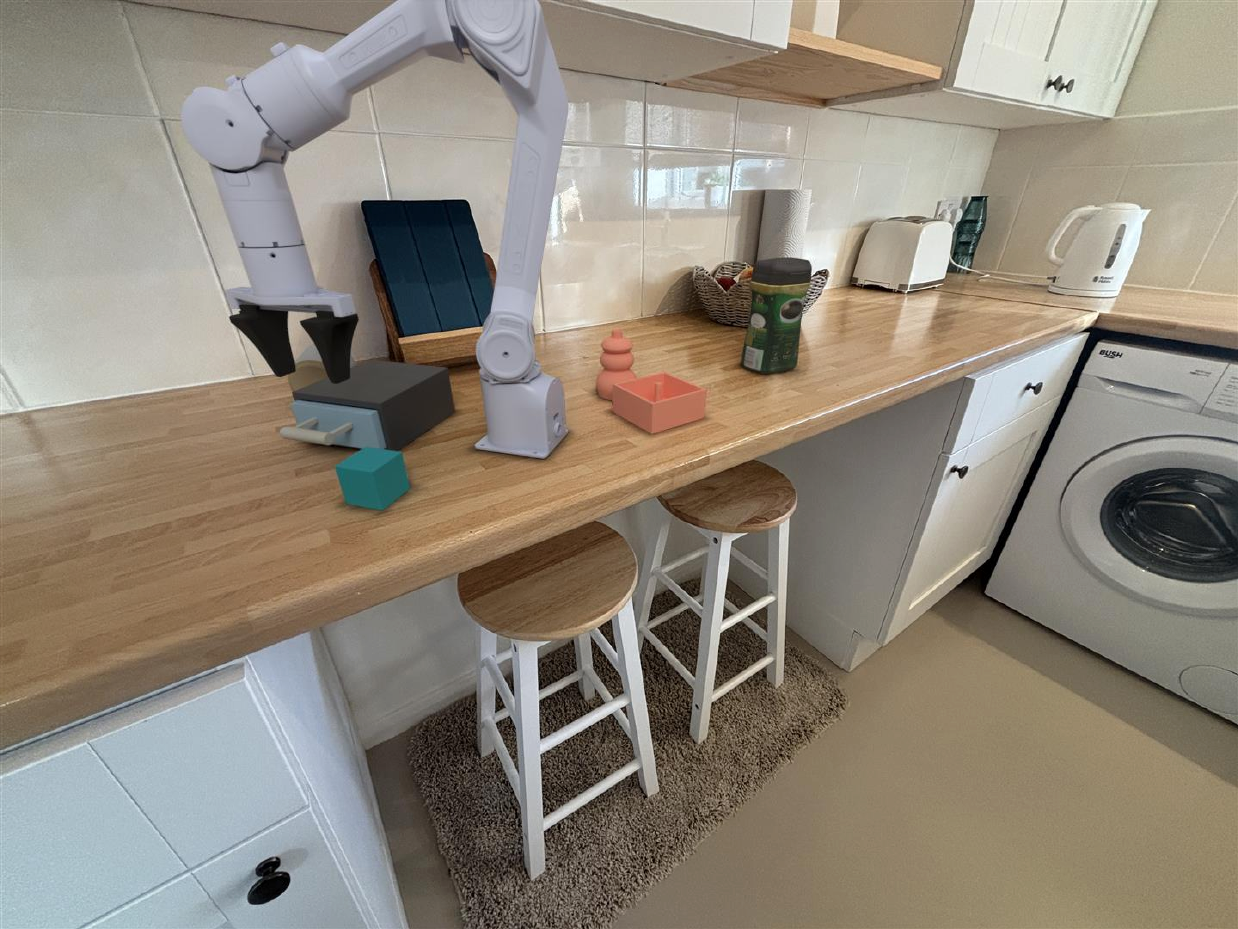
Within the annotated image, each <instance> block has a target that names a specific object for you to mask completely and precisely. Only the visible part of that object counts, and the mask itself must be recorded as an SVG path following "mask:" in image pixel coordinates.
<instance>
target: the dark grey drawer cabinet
mask: <svg viewBox="0 0 1238 929" xmlns="http://www.w3.org/2000/svg"><path fill="white" fill-rule="evenodd" d="M356 365H357V364H356ZM291 394H292V397H293V399H294V401H297V400H302V401H310V402H313V401H319V402H327V403H335V404H342V405H350V406H357V407H365V408H372V409H376V410H377V411H378V415H379V419H380V423H381V427H382V431H383V435H384V439H385V443H386V448H384V449H385V450H391V451H398V452H399V451H400V450H401V449H403V448H404V447H406V446H407V445H410V443H412V442H413V441H415V440H416V439H418V438H419V437H421V436H423V435H424V434H425V433H426V432H428V431H430V430H431V429H433V428H434V427H436V426H437V425H438V424H440V423H441V422H443V421H444V420H446V419H447V418H449V417H450V416H452V415H454V414H455V413H456V409H455V403H454V396H453V390H452V385H451V379H450V374H449V368H448V367H444V366H436V365H435V366H434V365H426V364H425V365H424V364H416V363H407V362H395V361H389V360H388V361H386V360H379V359H377V360H376V359H369V360H367V361H364V362H361V363H359V364H358V365H357V366H354V367H352V368H350V379H348V380H345V381H343V382H341V383H339V384H333V383H331V381H330V379H329V377H328V378H325V379H323V380H320V381H318V382H315V383H313V384H310V385H308V386H306V387H303V388H301V389H298V390H296V391H291ZM330 446H338V447H342V448H343V447H344V448H350V449H356V450H362V448H355V447H349V446H342V445H336V444H331V445H330Z"/></svg>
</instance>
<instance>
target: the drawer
mask: <svg viewBox="0 0 1238 929" xmlns="http://www.w3.org/2000/svg"><path fill="white" fill-rule="evenodd" d="M290 407H291V411H292V413H293V416H294V419H295V422H296V425H295V426H288V425H287V426H283V427H281V429H280V431H279V435H280V437H281V438H282V439H285V440H291V441H297V442H303V443H311V444H316V445H322V446H332V445H331V444H336V445H342V446H341V447H343V446H349V447H355V448H354V449H356V448H362V449H363V448H365V447H372V448H378V449H384V448H386V443H385V439H384V435H383V431H382V427H381V423H380V419H379V415H378V411H377V410H376V409H372V408H365V407H357V406H350V405H342V404H335V403H327V402H319V401H313V402H310V401H302V400H297V401H295V400H294V401H292V402H290ZM336 445H335V446H336ZM349 447H348V448H349ZM362 449H361V450H362Z"/></svg>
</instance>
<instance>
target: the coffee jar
mask: <svg viewBox="0 0 1238 929" xmlns="http://www.w3.org/2000/svg"><path fill="white" fill-rule="evenodd" d="M812 271H813V266H812V264H811V261H810V260H808V259H804V258H799V257H793V256H792V257H791V256H789V257H787V256H785V257H774V258H767V259H766V258H765V259H759V260H757V261H756V262H755V263H754V265H753V267H752V273H751V278H750V282H749V284H750V290H751V306H750V311H749V318H748V323H747V328H746V332H745V333H746V334H745V338H744V342H743V345H742V346H743V347H742V351H741V359H740V364H741V366H742V367H743V368H744V369H746V370H747V371H749V372H752V373H760V374H763V375H770V374H775V373H783V372H787V371H791V370H794V369H795V368H796V367H797V366H798V360H799V350H800V337H801V327H802V320H803V310H804V306H805V301H806V298H807V294H808V292H809V289H810V287H811V283H812V273H813V272H812Z"/></svg>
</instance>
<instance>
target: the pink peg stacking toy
mask: <svg viewBox="0 0 1238 929" xmlns="http://www.w3.org/2000/svg"><path fill="white" fill-rule="evenodd" d="M623 332H624V331H623V330H622V329H612V330H611V336H607V337H605V338H604V339H603V340H602V341H601V342H600V348H601V349H602V352H601V354H600V356H599V363H600V365H601V367H602V368H603V369H601V370H600V371H599V373H598V375H597V376H596V380H595V388H596V391H597V395H598V396H599V397H600V398H601V399H604V400H607V401H612V413H614V414H616V415H617V416H619V417H620V418H623V419H625V420H626V421H628V422H630V423H631V424H633V425H635V426H637V428H640V429H642V430H644V431H645V432H647V433H649V434H650V435H653V434H657V433H660V432H663V431H666V430H671V429H672V428H673V429H674V428H677V427H679V426H682V425H686V424H689V423H692V422H695V421H700V420H702V419H705V416H706V407H707V406H706V405H707V395H708V388H707V389H706V388H704V387H702V386H699V385H697V384H695V383H693V382H690V381H688V380H685V379H682V378H680V377H678V376H675V375H673V374H670V373H668V372H666V371H662V372H659V373H655V374H651V375H646V376H641V377H637V374H636V373H635V372H634V371H633V370H632V369H631V368H632V367H633V365H634V363H635V356H634V354H633V352H632V349H633V348H634V343H633V341H632V339H630V338H628V337H626V336H623Z"/></svg>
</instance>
